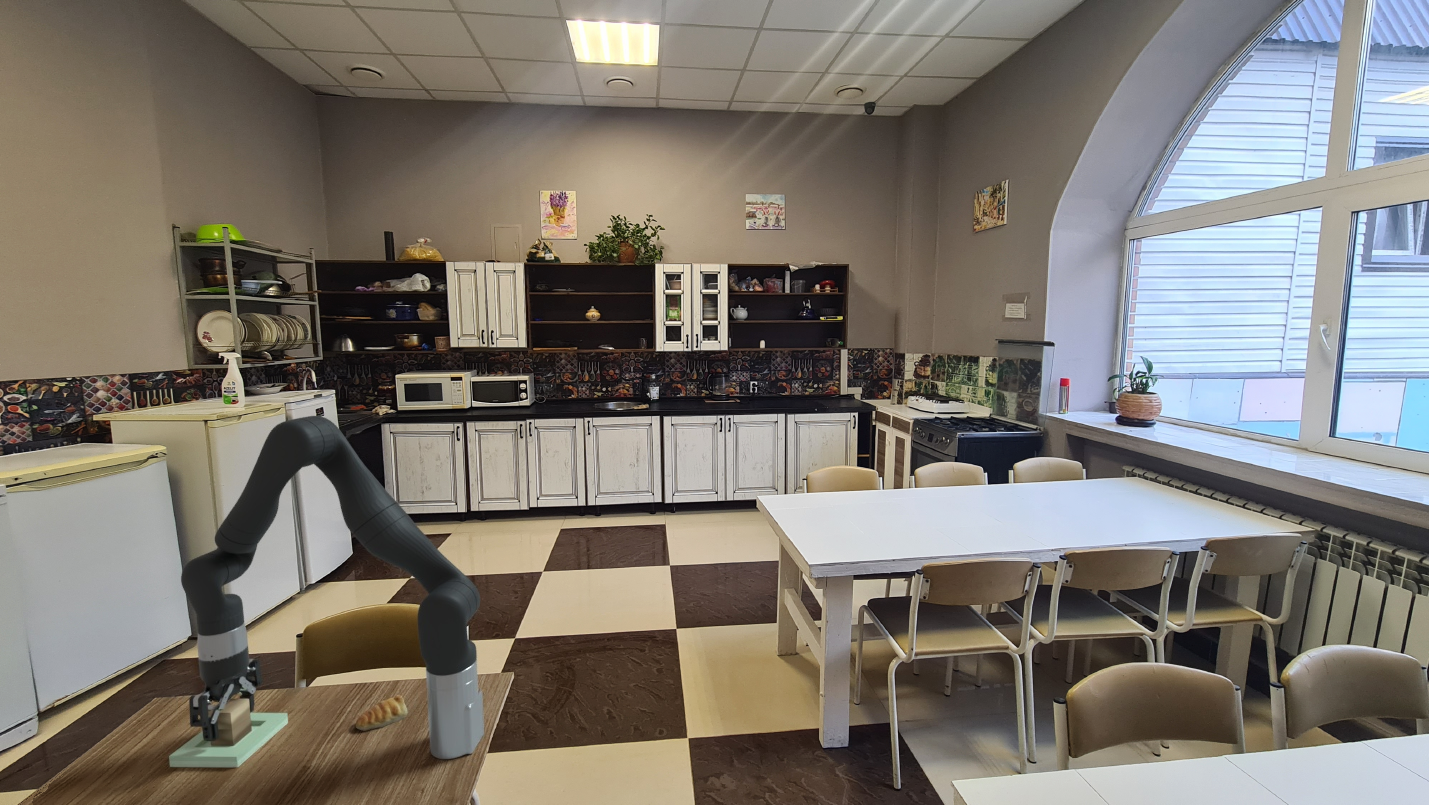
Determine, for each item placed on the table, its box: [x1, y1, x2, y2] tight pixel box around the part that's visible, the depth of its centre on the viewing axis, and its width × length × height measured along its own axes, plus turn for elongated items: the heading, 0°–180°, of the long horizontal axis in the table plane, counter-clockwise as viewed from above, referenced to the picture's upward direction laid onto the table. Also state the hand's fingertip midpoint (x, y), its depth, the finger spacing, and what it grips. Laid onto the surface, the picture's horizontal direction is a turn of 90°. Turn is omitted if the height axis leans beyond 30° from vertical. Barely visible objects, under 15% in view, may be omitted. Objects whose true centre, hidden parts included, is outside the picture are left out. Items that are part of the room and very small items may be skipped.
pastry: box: [355, 694, 408, 731], centre depth 124 cm, size 9×7×4 cm
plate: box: [168, 712, 289, 768], centre depth 117 cm, size 13×13×2 cm
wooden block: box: [208, 698, 252, 746], centre depth 116 cm, size 4×4×7 cm
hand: (230, 725), depth 117 cm, fingers open, 8 cm apart
